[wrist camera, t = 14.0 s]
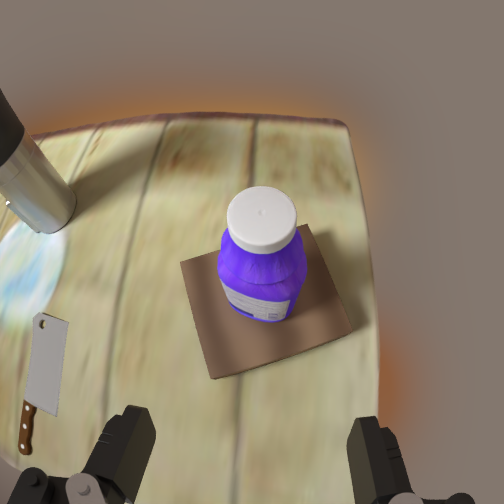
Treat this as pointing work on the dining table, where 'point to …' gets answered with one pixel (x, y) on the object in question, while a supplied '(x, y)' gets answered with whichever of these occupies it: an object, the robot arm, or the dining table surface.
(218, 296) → the walnut stand
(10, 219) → the dining table surface
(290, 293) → the bottle
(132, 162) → the dining table surface
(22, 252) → the dining table surface
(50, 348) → the kitchen cleaver
